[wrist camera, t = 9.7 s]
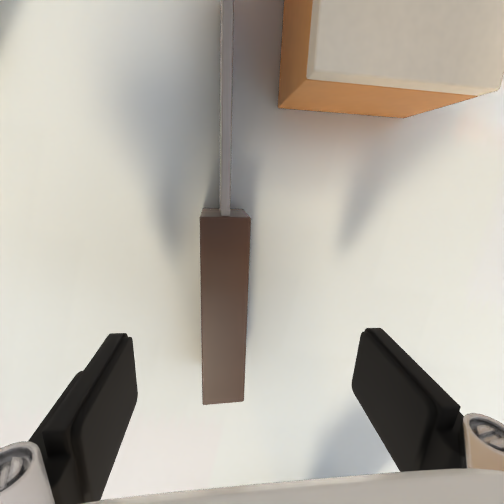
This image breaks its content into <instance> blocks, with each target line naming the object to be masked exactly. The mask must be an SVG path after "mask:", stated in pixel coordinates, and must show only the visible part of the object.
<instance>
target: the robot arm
mask: <svg viewBox="0 0 504 504" xmlns="http://www.w3.org/2000/svg"><path fill="white" fill-rule="evenodd" d="M352 390H353V392H354V394H355V396H356V398H357V399H358V401H359V403H360V404H361V406H362V408H363V409H364V411H365V413H366V414H367V416H368V418H369V419H370V421H371V423H372V425H373V426H374V428H375V430H376V431H377V433H378V435H379V436H380V438H381V440H382V441H383V443H384V445H385V447H386V448H387V450H388V452H389V453H390V455H391V457H392V458H393V460H394V462H395V463H396V465H397V467H398V469H399V470H400V472H395V473H382V474H370V475H358V476H345V477H333V478H322V479H310V480H299V481H288V482H276V483H265V484H254V485H243V486H232V487H222V488H211V489H201V490H190V491H179V492H169V493H159V494H150V495H141V496H133V497H124V498H115V499H106V500H100V499H101V497H102V494H103V491H104V488H105V486H106V483H107V480H108V478H109V475H110V472H111V470H112V467H113V464H114V462H115V459H116V456H117V454H118V451H119V448H120V445H121V443H122V440H123V437H124V435H125V432H126V429H127V427H128V424H129V421H130V419H131V416H132V413H133V411H134V408H135V405H136V402H137V396H138V392H137V382H136V371H135V361H134V351H133V341H132V337H128V336H127V334H126V333H115V334H109V335H108V337H107V338H106V339H105V341H104V342H103V344H102V345H101V347H100V348H99V349H98V351H97V352H96V354H95V355H94V357H93V358H92V359H91V361H90V362H89V364H88V365H87V367H86V368H85V370H84V371H80V372H79V373H77V375H76V376H75V377H74V378H73V380H72V381H71V382H70V384H69V385H68V387H67V388H66V389H65V391H64V392H63V394H62V395H61V396H60V398H59V399H58V400H57V402H56V403H55V405H54V406H53V407H52V409H51V410H50V412H49V413H48V414H47V416H46V417H45V419H44V420H43V421H42V423H41V424H40V425H39V427H38V428H37V430H36V431H35V432H34V434H33V435H32V437H31V438H30V439H29V441H28V442H18V443H13V444H10V445H8V446H5V447H3V448H1V449H0V504H504V425H503V424H502V423H500V422H499V421H497V420H494V419H492V418H490V417H488V416H485V415H482V414H476V413H470V414H467V415H465V416H463V415H462V414H461V413H460V412H459V410H460V406H459V405H458V404H457V403H456V402H455V401H454V400H453V399H452V398H451V397H450V396H449V395H448V394H447V393H446V392H445V391H444V390H443V389H442V388H441V387H440V386H439V385H438V384H437V383H436V382H435V381H434V380H433V379H432V378H431V377H430V376H429V375H428V374H427V373H426V372H425V371H424V370H423V369H422V368H421V367H420V366H419V365H418V364H417V363H416V362H415V361H414V360H413V359H412V358H411V357H410V356H409V355H408V354H407V353H406V352H405V351H404V350H403V349H402V348H401V347H400V346H399V345H398V344H397V343H396V342H395V341H394V340H393V339H392V338H391V337H390V336H389V335H388V334H387V333H386V332H385V331H384V330H383V329H381V328H367V329H365V331H364V332H362V333H361V337H360V342H359V347H358V353H357V358H356V363H355V368H354V374H353V379H352Z"/></svg>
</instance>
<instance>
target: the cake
mask: <svg viewBox="0 0 504 504" xmlns="http://www.w3.org/2000/svg"><path fill="white" fill-rule="evenodd" d="M503 74H504V0H284V11H283V28H282V44H281V61H280V78H279V94H278V108H285V109H297V110H310V111H322V112H335V113H347V114H360V115H372V116H384V117H397V118H406V117H410V116H413V115H416V114H420V113H423V112H427V111H430V110H434V109H437V108H440V107H444V106H447V105H451V104H454V103H458V102H461V101H464V100H468V99H471V98H475V97H477V96H481V95H484V94H488V93H491V92H495V91H497V90H499V89H500V86H501V82H502V78H503Z"/></svg>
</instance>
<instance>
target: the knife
mask: <svg viewBox="0 0 504 504" xmlns="http://www.w3.org/2000/svg"><path fill="white" fill-rule="evenodd" d="M233 14H234V0H221V38H220V209H219V208H203V209H202V212H201V216H200V266H201V333H202V400H203V405H207V404H219V403H230V402H242V401H244V383H245V357H246V331H247V305H248V280H249V254H250V228H251V218H250V217H249V215H248V214H247V213H246V212H245V211H244V210H243V209H230V191H231V132H232V73H233Z"/></svg>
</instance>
